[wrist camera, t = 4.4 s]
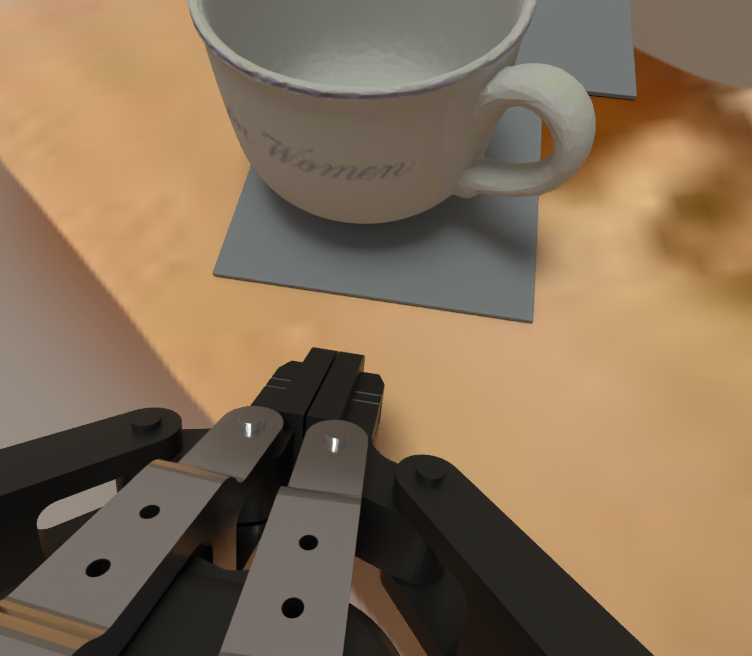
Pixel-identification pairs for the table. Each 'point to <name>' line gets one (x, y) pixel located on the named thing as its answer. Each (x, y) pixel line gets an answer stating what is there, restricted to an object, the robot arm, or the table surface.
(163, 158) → the table surface
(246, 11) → the teacup
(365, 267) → the t mat
